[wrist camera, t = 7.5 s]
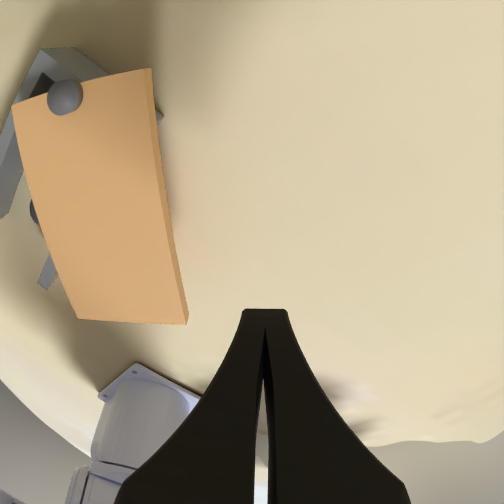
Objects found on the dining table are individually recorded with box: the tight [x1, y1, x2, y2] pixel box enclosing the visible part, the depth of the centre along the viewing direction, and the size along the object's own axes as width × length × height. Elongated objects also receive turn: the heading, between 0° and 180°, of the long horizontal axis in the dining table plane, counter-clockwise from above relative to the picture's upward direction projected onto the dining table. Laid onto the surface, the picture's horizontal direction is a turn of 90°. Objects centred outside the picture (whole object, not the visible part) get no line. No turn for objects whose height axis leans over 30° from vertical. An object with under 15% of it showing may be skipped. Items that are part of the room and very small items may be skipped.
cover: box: [11, 68, 189, 325], centre depth 13 cm, size 12×7×1 cm, turn 2°
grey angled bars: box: [0, 47, 164, 290], centre depth 14 cm, size 12×7×3 cm, turn 137°
